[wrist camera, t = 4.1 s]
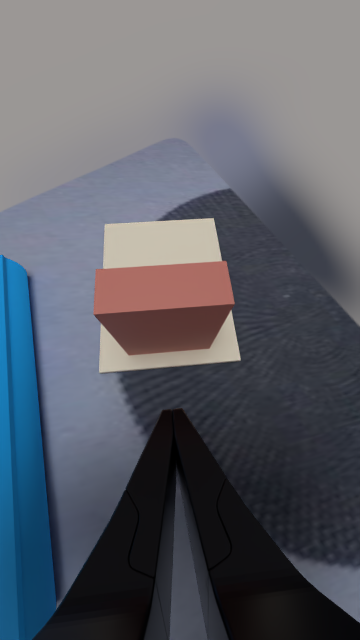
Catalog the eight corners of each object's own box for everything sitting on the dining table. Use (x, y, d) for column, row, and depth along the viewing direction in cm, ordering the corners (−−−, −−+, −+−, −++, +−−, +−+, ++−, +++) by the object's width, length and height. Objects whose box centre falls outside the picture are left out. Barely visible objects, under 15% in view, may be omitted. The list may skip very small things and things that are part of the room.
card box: (209, 348, 20) (234, 303, 11) (128, 355, 19) (93, 314, 11) (205, 320, 21) (226, 260, 12) (128, 327, 20) (95, 269, 12)
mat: (239, 361, 20) (240, 360, 19) (100, 373, 19) (99, 372, 19) (212, 221, 26) (213, 218, 25) (106, 227, 25) (104, 224, 25)
